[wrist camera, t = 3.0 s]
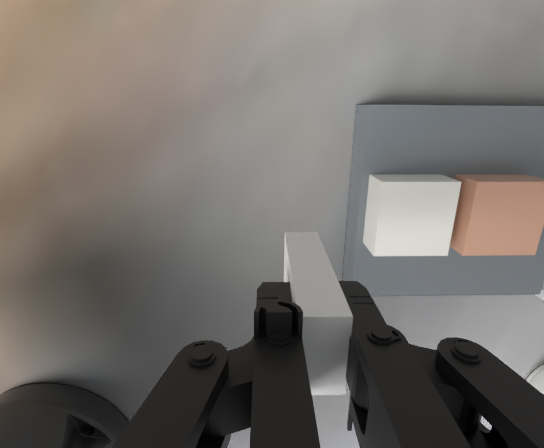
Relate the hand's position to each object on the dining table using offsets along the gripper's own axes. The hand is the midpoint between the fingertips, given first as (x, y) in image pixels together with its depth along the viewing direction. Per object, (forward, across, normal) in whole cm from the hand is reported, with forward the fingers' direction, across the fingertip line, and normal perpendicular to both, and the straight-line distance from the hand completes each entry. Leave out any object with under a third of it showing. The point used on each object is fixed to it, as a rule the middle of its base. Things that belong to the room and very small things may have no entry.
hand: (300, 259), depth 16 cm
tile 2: (+9, +8, 0) cm, 12 cm away
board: (+12, +12, 0) cm, 17 cm away
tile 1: (+9, +14, 0) cm, 17 cm away
